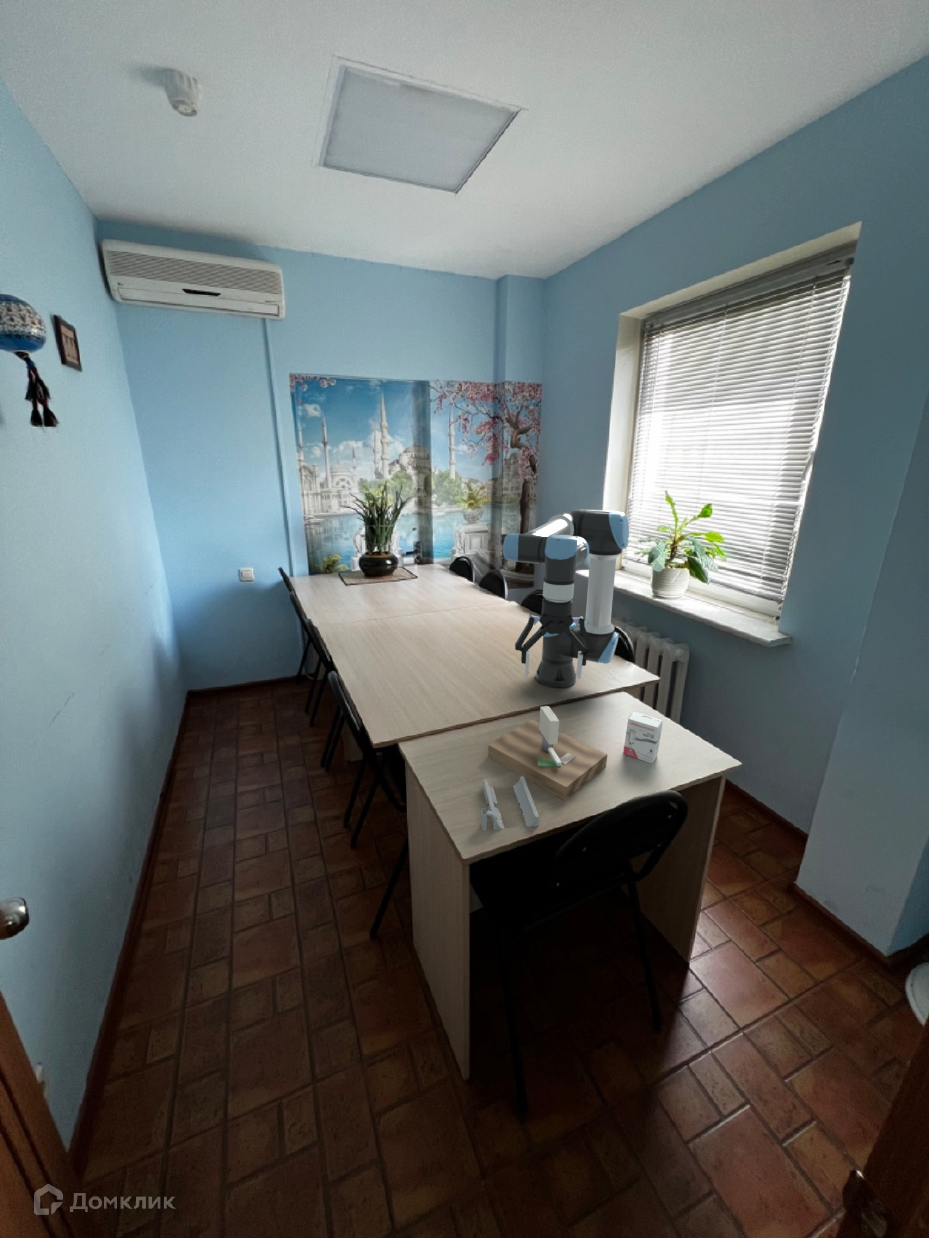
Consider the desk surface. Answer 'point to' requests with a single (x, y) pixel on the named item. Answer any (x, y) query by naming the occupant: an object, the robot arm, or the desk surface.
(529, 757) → the brown wavy board
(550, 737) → the white piece
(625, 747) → the ink box
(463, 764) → the desk surface
